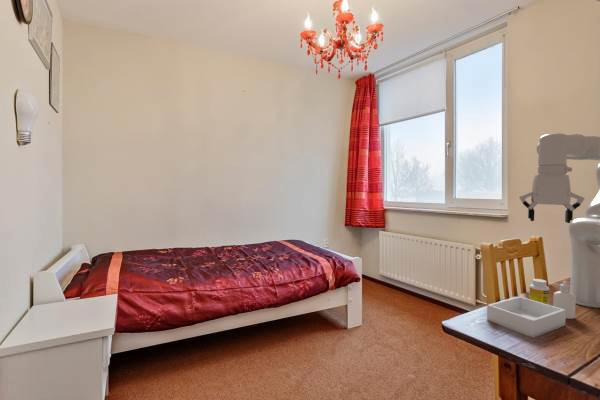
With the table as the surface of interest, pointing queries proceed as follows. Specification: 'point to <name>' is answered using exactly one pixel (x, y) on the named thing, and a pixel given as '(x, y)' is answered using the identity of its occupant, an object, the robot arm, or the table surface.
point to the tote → (526, 316)
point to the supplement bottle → (539, 291)
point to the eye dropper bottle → (565, 300)
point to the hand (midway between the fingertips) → (549, 221)
